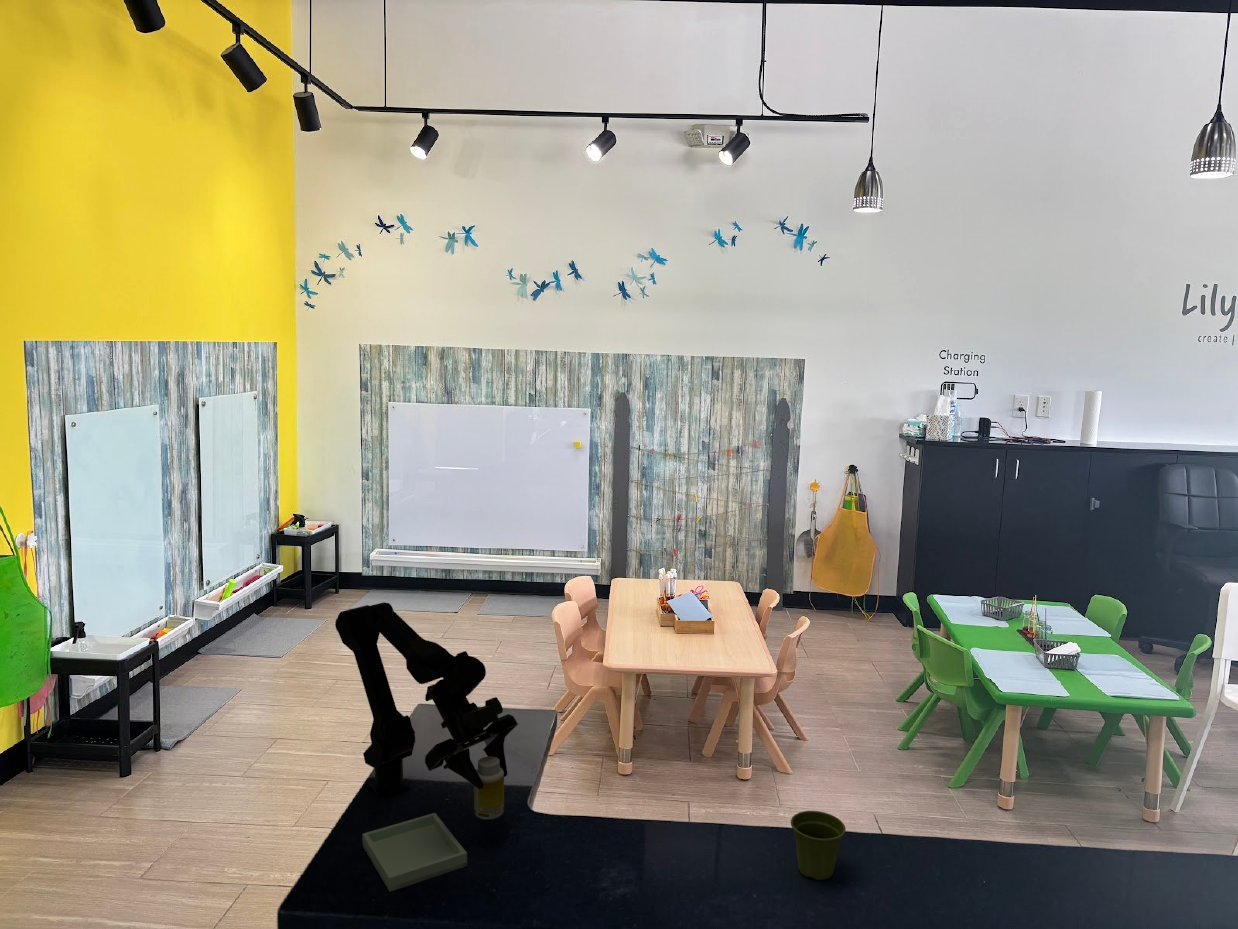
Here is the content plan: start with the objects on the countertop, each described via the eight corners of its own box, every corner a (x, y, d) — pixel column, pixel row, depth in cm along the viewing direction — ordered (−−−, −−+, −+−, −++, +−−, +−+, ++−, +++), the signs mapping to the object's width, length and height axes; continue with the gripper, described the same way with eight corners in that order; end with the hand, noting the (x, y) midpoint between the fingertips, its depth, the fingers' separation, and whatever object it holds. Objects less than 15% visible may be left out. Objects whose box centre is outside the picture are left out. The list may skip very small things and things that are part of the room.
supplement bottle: (509, 814, 159) (509, 762, 158) (483, 824, 156) (483, 771, 154) (494, 802, 164) (494, 751, 162) (468, 811, 160) (468, 759, 159)
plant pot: (824, 851, 158) (826, 807, 157) (854, 880, 149) (856, 834, 148) (779, 860, 155) (781, 815, 154) (806, 891, 146) (808, 843, 145)
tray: (362, 846, 158) (362, 834, 158) (435, 825, 166) (434, 812, 166) (389, 892, 145) (389, 878, 145) (467, 866, 153) (466, 853, 152)
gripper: (433, 703, 152) (474, 782, 146) (511, 673, 166) (551, 745, 161) (407, 732, 158) (446, 809, 153) (484, 701, 172) (522, 771, 167)
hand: (493, 782), depth 158 cm, fingers closed on supplement bottle, 6 cm apart
